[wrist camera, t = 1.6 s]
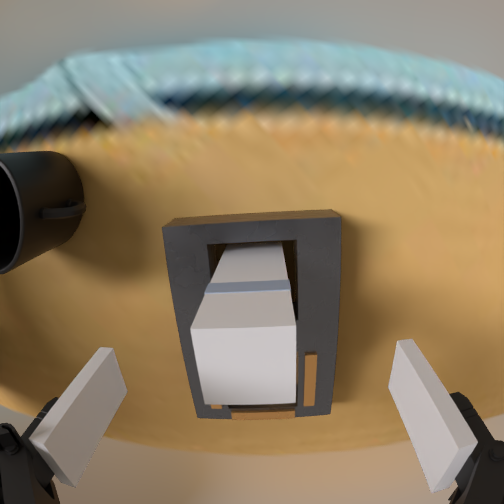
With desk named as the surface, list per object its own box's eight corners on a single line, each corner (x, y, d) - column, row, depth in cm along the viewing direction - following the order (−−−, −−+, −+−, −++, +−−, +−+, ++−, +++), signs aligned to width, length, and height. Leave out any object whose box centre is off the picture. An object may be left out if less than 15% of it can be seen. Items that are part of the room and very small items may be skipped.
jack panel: (203, 395, 32) (197, 419, 28) (174, 218, 26) (160, 228, 23) (325, 391, 31) (330, 416, 27) (331, 209, 26) (341, 217, 22)
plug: (231, 294, 28) (204, 404, 15) (226, 243, 27) (188, 327, 13) (283, 292, 28) (296, 403, 14) (281, 240, 26) (297, 324, 13)
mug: (109, 252, 27) (55, 289, 19) (20, 240, 28) (-37, 267, 19) (111, 148, 25) (49, 149, 16) (18, 153, 25) (-45, 159, 16)
